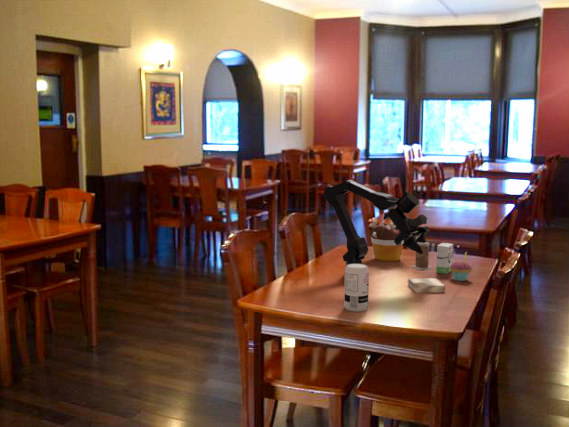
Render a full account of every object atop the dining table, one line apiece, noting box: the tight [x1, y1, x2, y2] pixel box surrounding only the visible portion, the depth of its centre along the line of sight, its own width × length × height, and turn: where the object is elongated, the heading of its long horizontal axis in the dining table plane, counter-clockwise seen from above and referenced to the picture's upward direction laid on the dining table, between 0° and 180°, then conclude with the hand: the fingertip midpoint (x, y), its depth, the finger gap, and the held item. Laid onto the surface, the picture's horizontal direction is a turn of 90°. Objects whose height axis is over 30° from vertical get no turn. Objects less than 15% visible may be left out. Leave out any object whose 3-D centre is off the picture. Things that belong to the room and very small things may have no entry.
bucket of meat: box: [368, 220, 404, 263], centre depth 294 cm, size 20×16×20 cm
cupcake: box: [450, 250, 473, 282], centre depth 258 cm, size 9×8×12 cm
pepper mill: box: [411, 241, 433, 272], centre depth 244 cm, size 5×5×10 cm
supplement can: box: [343, 263, 370, 313], centre depth 216 cm, size 8×8×15 cm
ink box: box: [435, 242, 454, 275], centre depth 272 cm, size 9×5×12 cm, turn 150°
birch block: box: [407, 277, 446, 293], centre depth 244 cm, size 11×11×3 cm
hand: (425, 252), depth 243 cm, fingers closed on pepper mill, 5 cm apart
